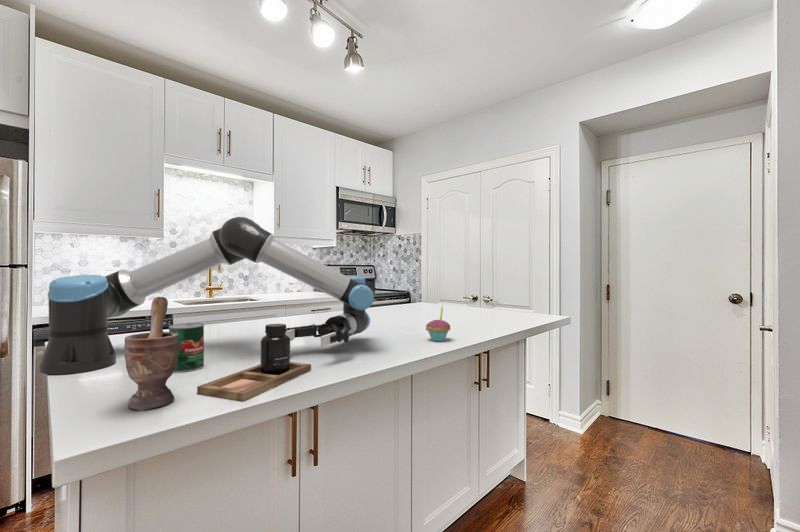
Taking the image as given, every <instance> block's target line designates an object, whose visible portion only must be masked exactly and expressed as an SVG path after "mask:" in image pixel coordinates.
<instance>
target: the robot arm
mask: <svg viewBox="0 0 800 532" xmlns="http://www.w3.org/2000/svg"><path fill="white" fill-rule="evenodd" d="M245 259H246V260H249V261H251V262H253V263H255V264H258V263H263V264H265V265H267V266H268V267H272V268H274V269H276V270H277V271H279V272H281V273H284V274H286V275H287V276H289V277H292V278H294V279H296V280H297V281H300V282H302V283H304V284H306V285H307V286H310V287H312V288H314V289H315V290H318V291H321V292H322V293H324V294H325V295H328V296H329V297H333V299H334V298H335V299H336V300H338V301H340V302H341V303H343V305H342V306H343V307H342V308H343V309H342V310H343V312H342V314H339V315H335V316H331V317H329V318H328V319H326V321H325V322H324V323H322V324H315V323H314V324H309V325H301V326H294V327H286V333H285V335H287V336H288V337H289V338H290V341H293V340H295V339H296V338H306V337H314V338H320V348H325V347H327V346H329V345H330V346H331V345H332V344H336V343H340V342H342V341H343V342H345V343H348V342H349V339H350V337H352V336H353V335H357V334H361V333H363V332H364V331H366V330H367V329H368V328H369V327H370V324H371V318H370V315H369V314H368V313H367V312H366V310H367V309H369V308H370V307H371V306H372V304H373V303H374V298H375V297H374V295H375V294H374V293H373V290H372V289H371V288H370V287H369V286H368V285H366V279H365V277H364V276H347V275H344V273H341V272H339V271H337V270H335V269H334V268H332V267H330V266H328V265H326V264H324V263H322V262H320V261H318V260H316V259H314V258H312V257H310V256H308V255H306V254H304V253H302V252H301V251H299V250H297V249H295V248H292V247H291V246H289V245H287V244H284V243H283V242H281V241H280V240H277V239H276V238H275V236H274V234H273V233H271V232H269V231H268V230H265V228H263V227H262V226H261V225H259V224H258V223H257V222H255V221H254V220H253V219H251V218H248V217H245V216H235V217H232V218H230V219H227V220H226V221H225V222H224V223H223V224H222V226H221V227H219V228H218V229H216V230H213V231H211V234H210V236H209V238H207V239H204V240H202V241H200V242H198V243H195V244H193V245H190V246H188V247H186V248H183V249H180V250H179V251H176V252H173V253H171V254H169V255H167V256H164V257H162V258H160V259H157V260H155V261H154V260H153V262H149V263H148V264H145V265H143V266H141V267H138V268H136V269H133V270H127V269H120V270H117V271H115V272H113V273H110V274H108V275H105V276H104V275H101V274H100V275H99V274H97V275H96V274H84V275H83V274H81V275H72V276H71V275H70V276H63V277H57V278H55V279H53V280H51V281H50V283H49V284H48V292H47V297H48V298H47V299H48V342H47V344H46V347H45V348H44V349H45V350H44V351H43V354H42V356H41V359H40V360H39V361H40V362H39V373H41V374H44V375H67V374H68V375H69V374H76V373H77V374H78V373H83V372H84V373H85V372H91V371H94V370H99V369H103V368H106V367H109V366H112V365H114V364H116V362H117V354H116V350H115V348H114V346H113V344H112V342H111V339H110V337H109V334H108V332H109V331H108V324H109V323H108V322H109V321H108V320H109V319H111V318H116V317H120V316H122V315H124V314H126V313H127V312H129V311H130V310H132V309H135V308H136V307H138V306H141V305H143V304H144V303H145V301H146V299H147V297H149V296H151V295H153V294H157V292H160V291H163V290H165V289H167V288H169V287H172V286H174V285H175V284H178V283H180V282H181V283H182V282H183V281H185V280H187V279H190V278H192V277H194V276H196V275H199V274H200V273H201V274H202V273H204V272H206V271H208V270H210V269H213V268H215V267H217V266H219V265H221V264H226V265H229V266H232V265H235V264H236V263H238V262H240V261H243V260H245Z"/></svg>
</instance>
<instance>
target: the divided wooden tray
mask: <svg viewBox="0 0 800 532" xmlns="http://www.w3.org/2000/svg"><path fill="white" fill-rule="evenodd" d="M310 370H311V371H312V364H311V363H303V362H302V363H301V362H294V361H292V362H291V361H290V371H288V372H285V373H283V374H281V375H270V374H262V373H260V364H256V365H254V366H252V367H249V368H246V369H243V370H240V371H237V372H234V373H231V374H229V375H226V376H223V377H221V378H218V379H215V380H213V381H208V382H207V383H203V384H201V385H197V387H196V388H197V390H196V393H197V395H202V396H209V397H214V398H221V399H227V400H232V399H233V401H238V402H245V401H247V400H249V399H253V398H254V397H256V396H259V395H260V393H261V394H262V392H263V393H265V392H267V391H269V390H271V389H270V388H272V389H273V387H274V388H276V387H278V386H280V385H282V384H284V382H285V383H287V382H289V381H291V380H293V379H295V377H296V378H298V377H300V376H302V375H304V374H306V373H308V371H309V372H311V371H310ZM301 374H302V375H301ZM299 375H300V376H299ZM297 376H298V377H297ZM288 380H289V381H288ZM286 381H287V382H286ZM277 385H278V386H277ZM275 386H276V387H275ZM268 389H269V390H268ZM266 390H267V391H266ZM264 391H265V392H264Z"/></svg>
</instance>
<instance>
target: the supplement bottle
mask: <svg viewBox="0 0 800 532" xmlns="http://www.w3.org/2000/svg"><path fill="white" fill-rule="evenodd" d="M286 328H287V324H286V323H270V324H266V325H265V329H264V330H265V331H264V333H265V335H264V336H262V338H261V340H260V362H259V363H260V373H262V374H270V375H281V374H283V373H285V372H288V371H290V362H291V340H290V338H289V337H288V336H287V335H285V333H286Z"/></svg>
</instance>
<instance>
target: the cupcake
mask: <svg viewBox="0 0 800 532" xmlns="http://www.w3.org/2000/svg"><path fill="white" fill-rule="evenodd" d="M443 307H444V306H443V305H441V308H440V313H439V314H440V315H439V319H434V320H431V321H429V322H428V323H427V324H426V325H425V330H426V331H427V332H428V334H429V337H430V340H431V341H432V342H437V341H440V342H445V341H446V338H447V335H448V333H449V331H451V324H449V322H447V321H445V320H443V309H444V308H443Z"/></svg>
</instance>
